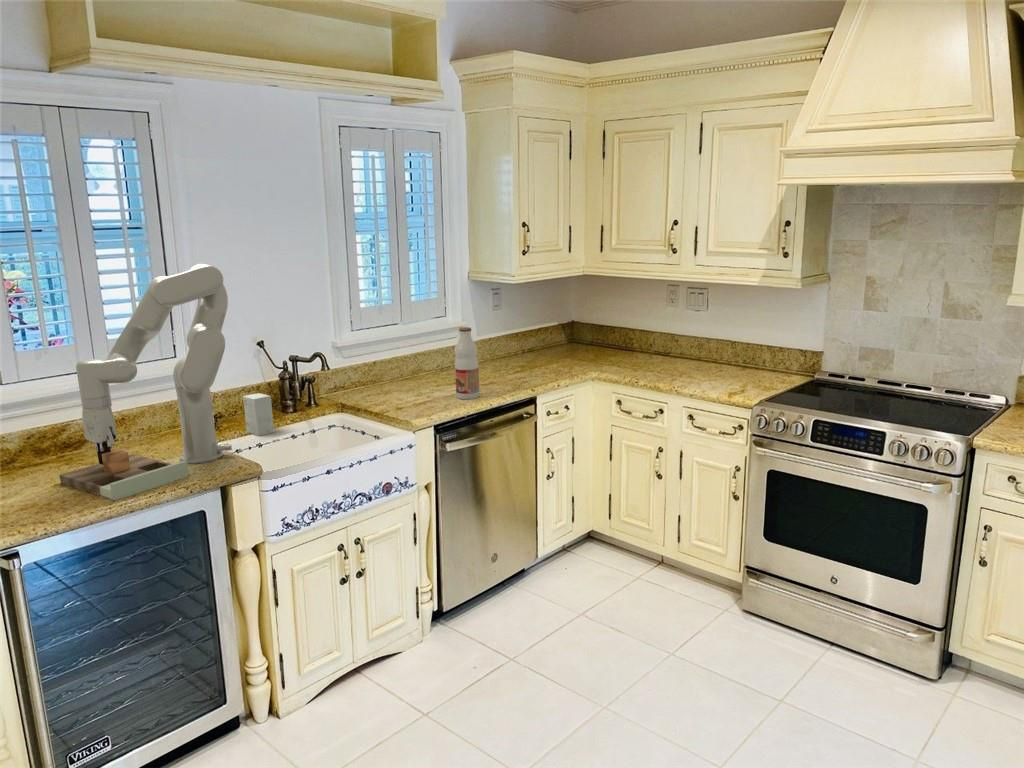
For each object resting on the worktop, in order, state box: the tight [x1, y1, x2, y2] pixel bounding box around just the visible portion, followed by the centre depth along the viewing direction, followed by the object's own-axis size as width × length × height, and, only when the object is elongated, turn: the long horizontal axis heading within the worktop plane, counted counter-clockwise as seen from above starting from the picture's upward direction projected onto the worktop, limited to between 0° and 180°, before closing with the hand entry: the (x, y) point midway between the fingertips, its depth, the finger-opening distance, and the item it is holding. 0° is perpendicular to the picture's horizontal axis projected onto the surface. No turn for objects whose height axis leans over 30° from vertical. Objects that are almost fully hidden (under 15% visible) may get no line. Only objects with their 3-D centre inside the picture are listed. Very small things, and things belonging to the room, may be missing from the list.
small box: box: [242, 392, 275, 437], centre depth 265 cm, size 8×6×13 cm
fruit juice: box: [454, 326, 480, 400], centre depth 306 cm, size 9×9×28 cm
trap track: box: [59, 453, 172, 496], centre depth 222 cm, size 21×22×2 cm
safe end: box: [100, 461, 190, 501], centre depth 214 cm, size 7×22×4 cm, turn 147°
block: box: [102, 449, 130, 473], centre depth 221 cm, size 5×5×5 cm
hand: (105, 463), depth 225 cm, fingers closed
